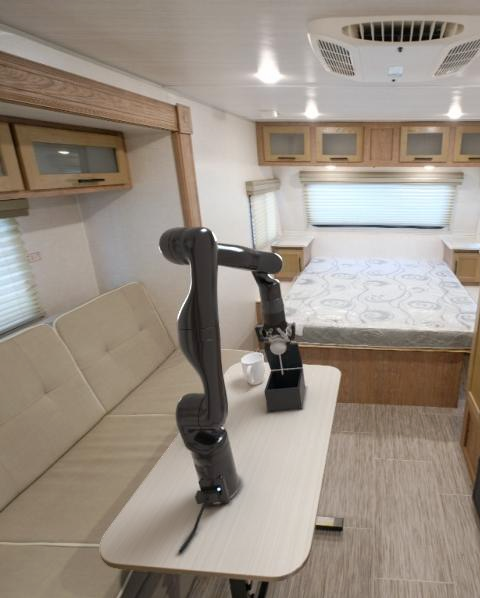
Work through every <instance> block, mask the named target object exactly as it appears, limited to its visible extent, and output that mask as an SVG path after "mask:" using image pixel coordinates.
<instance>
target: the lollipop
mask: <svg viewBox="0 0 480 598" xmlns="http://www.w3.org/2000/svg"><path fill="white" fill-rule="evenodd" d="M283 339H284V338H275V339H273V340H272V341H270V350H271V352H272V353H274V354H276V355H279V357H280V364H281V369H280V370H281V371H282V375H283V370H284V369H282V362H281V355H280V354H283V353H284V352H285V351H286V349H287V346H286V342H285V341H284V340H283Z"/></svg>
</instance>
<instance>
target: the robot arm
mask: <svg viewBox="0 0 480 598" xmlns="http://www.w3.org/2000/svg"><path fill="white" fill-rule="evenodd" d="M158 248H159V251H160V253H161V255H162V256H163V258H164V259H165V260H167V261H168V262H170V263H171V264H174V265H179V266H189V267H190V269H189V270H190V287H189V291H188V293H187V295H186V298H185V299H184V301H183V304H182V306H181V307H180V309H179V312H178V314H177V317H176V333H177V345H178V348H179V351H180V352H181V354H182V355H183V357H184V358H185V359H186V361H187V362H188V363H189V364H190V366H191V367H192V368H193V370H194V371H195V372H196V374H197V375H198V376H199V379H200V382H201V384H202V388H203V392H189V393H186V394H184V395H183V396H181V398H180V399H179V400H178V402H177V404H176V406H175V411H174V412H175V416H174V418H175V423H176V427H177V430H178V432H179V435H180V438H181V439H182V442H183V445H184V448H186V450H188V451H189V452H190V455H191V459H192V462H193V466H194V469H195V472H196V476H197V479H198V487H199V489H200V490H197V491H196V493H195V495H194V498H195V502H196V505H202V506H201V508H200V511H199V513H198V515H197V517H196V520H195V523H194V526H193V529H192V530H191V532H190V534H189V536H188V537H187V539H186V540H185V542H184V543H183V544H182V545H181V547H180V548H179V550H178V552H179V553H183V551H185V550H184V549H185V548H186V547H187V545H188V544H189V543H190V541H191V540H192V539H193V537H194V535H195V533H196V532H197V528H199V527H198V526H199V523H200V520H201V517H202V516H203V513H204V511H205V509H206V507H210V506H211V507H212V506H218V505H225V504H229V503H230V501H231V499H232V498H234V497H235V496H236V495H237V493H238V492H239V490H240V487H241V480H240V478H239V475H238V471H237V466H236V463H235V457H234V455H233V451H232V447H231V442H230V439H229V438H230V437H229V434H228V431H227V429H226V428H225V427H224V426H225V424H226V422H227V418H228V415H229V401H228V400H229V399H228V393H227V388H226V382H225V376H224V368H223V360H222V358H223V357H222V346H221V345H222V344H221V343H222V341H221V340H222V339H221V324H220V314H219V295H218V281H219V280H218V277H219V266H220V267H225V268H228V269H229V268H230V269H235V270H240V271H245V272H251V275H252V276H253V280H254V281H255V283H256V285H257V287H258V292H259V298H260V310H261V316H262V322H263V324H256V325H255V328H254V331H255V334H256V338H257V340H258V342H259V343H264V345H265V348H266V351H267V350H268V352H270V344H271V340H270V338H271V337H274V336H281V337H282V339H285V340H286V346H287V350H290V349H291V343H292V341H294V340H295V339H296V333H297V332H296V329H297V327H296V322H294V321H293V322H292V323H291V322H288V321H287V320H286V318H287V317H286V312H285V311H286V310H285V303H284V299H283V296H282V288H281V282H280V280H278V279H276V278H274V277H271V276H270V275H277V274H279V273H280V272H281V271H282V270H283V268H284V261H283V259H282V257H281V256H280V255H279V254H278V253H275V252H272V251H271V252H270V251H263V250H258V249H254V248H252V247H248V246H244V245H239V244H231V243H224V242H218V240H217V237H216V235H215V234H214V232H213V231H212V230H211V229H210V228H208V227H205V226H178V227H177V226H176V227H172V228H169V229H167V230H165V231H164V232H162V234H161V235H160V237H159V240H158ZM287 328H289V330H290V334H289V331H287ZM263 330H264V331H266V333H267V334H266V336H264V335H263V332H262V331H263Z"/></svg>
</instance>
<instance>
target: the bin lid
mask: <svg viewBox="0 0 480 598" xmlns="http://www.w3.org/2000/svg"><path fill="white" fill-rule="evenodd" d="M282 339H283V340H284V341H285V342H286V340H285V338H282ZM262 347H263V350H264V354H265V357H266V359H267V363H268V366H269V370H270V371H272V370H281V364H280V357H279V355H276V354H274V353H272V352H271V350H270V352H268V350H267V351H266V348H265V344H263V346H262ZM280 355H281V362H282V369H283V370H284V369H295V368H303V369H304V364H303V360H302V355H301V351H300V345H299V342H291V349H290V350H287V349H286V351H285V352H284V353H283V354H280Z"/></svg>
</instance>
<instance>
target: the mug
mask: <svg viewBox="0 0 480 598" xmlns="http://www.w3.org/2000/svg"><path fill="white" fill-rule="evenodd" d="M240 363H241V364H240V365H241V368H242V374H243V377H244V379H245V380H246V381H247V383H249V384H250V385H252V386H256V385H259V384H261V383H262V382H263V380H264V377H265V374H266V365H265V358H264V354H263V353H262V352H258V351H257V352H250V353H247V354H245V355H244V356H242V357H241V358H240Z"/></svg>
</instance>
